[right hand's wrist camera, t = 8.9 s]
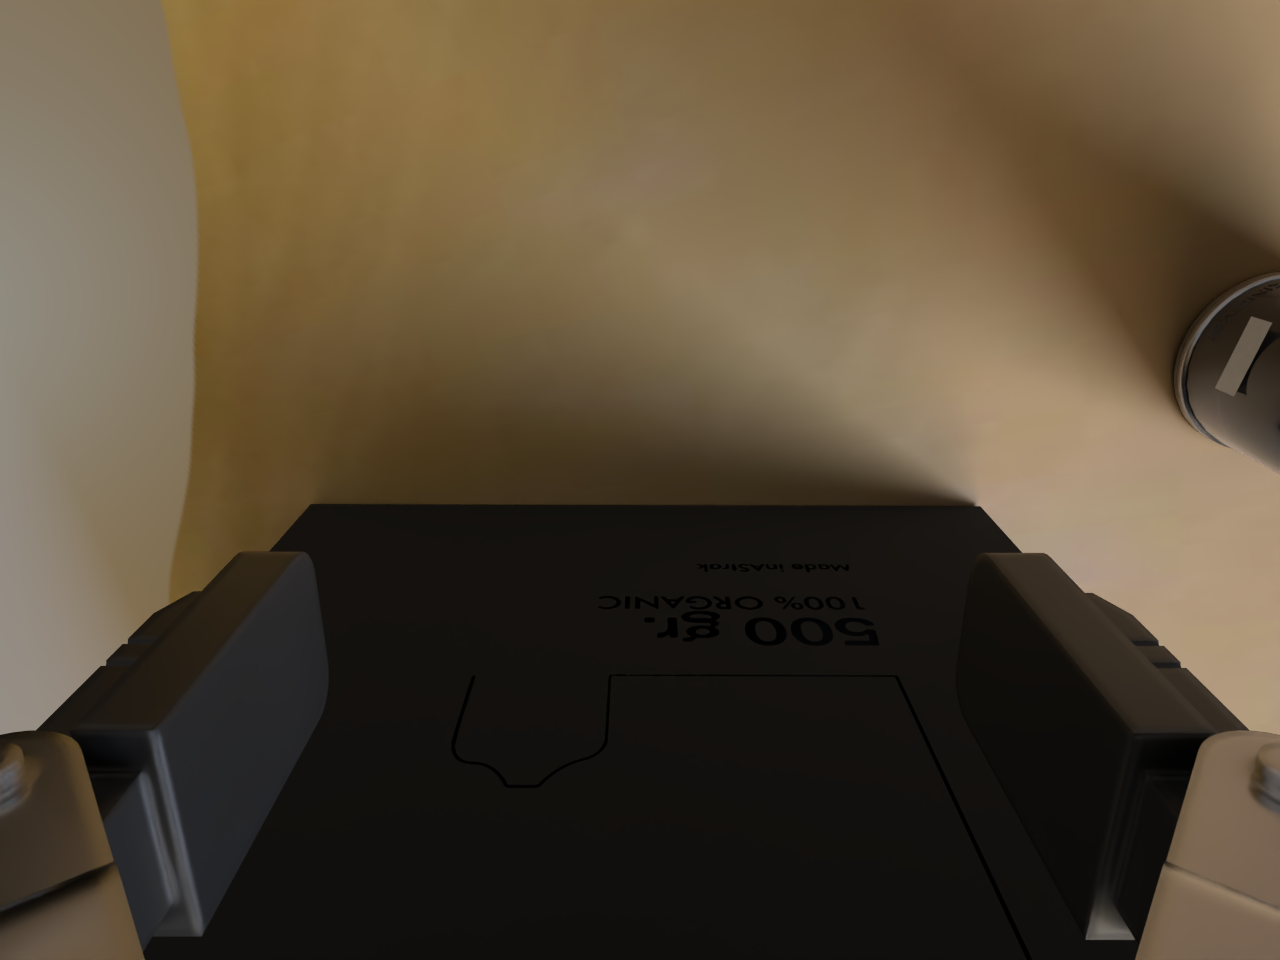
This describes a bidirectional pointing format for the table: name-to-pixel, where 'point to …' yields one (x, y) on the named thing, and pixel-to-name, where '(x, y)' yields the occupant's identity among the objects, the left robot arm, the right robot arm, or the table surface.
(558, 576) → the cardboard box
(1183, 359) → the right robot arm
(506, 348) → the table surface
